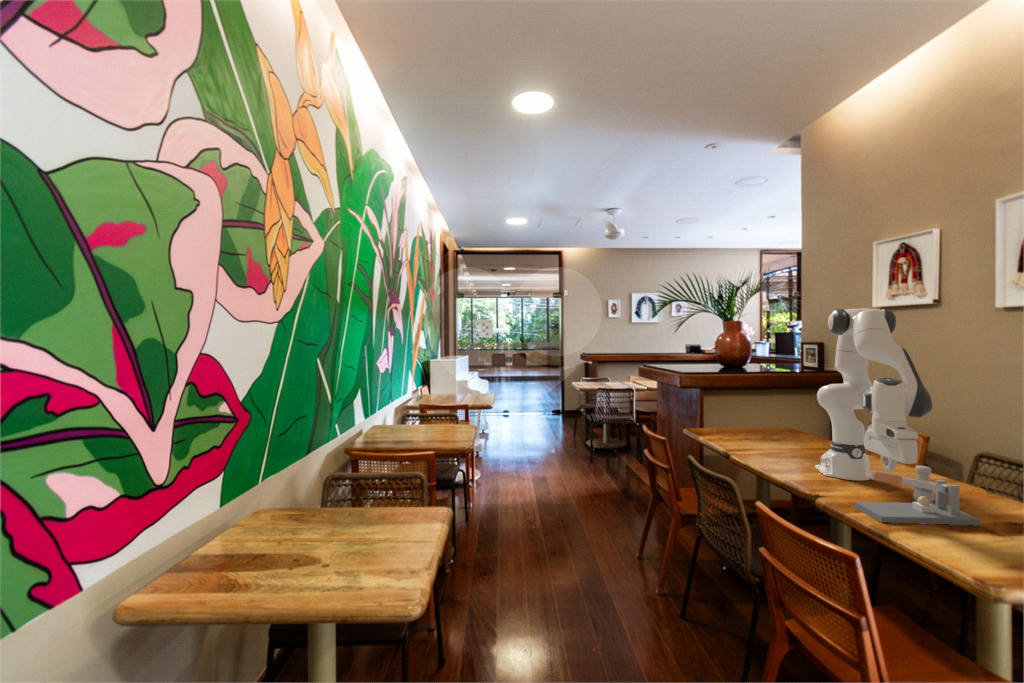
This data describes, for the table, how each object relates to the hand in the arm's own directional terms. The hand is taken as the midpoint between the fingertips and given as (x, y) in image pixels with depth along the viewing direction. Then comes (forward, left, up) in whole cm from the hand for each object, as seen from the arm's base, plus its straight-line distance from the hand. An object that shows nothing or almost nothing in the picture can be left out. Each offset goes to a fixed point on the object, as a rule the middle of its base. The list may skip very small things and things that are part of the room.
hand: (888, 470), depth 155 cm
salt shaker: (-13, +19, -15) cm, 27 cm away
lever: (0, +6, -5) cm, 8 cm away
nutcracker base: (0, +7, -15) cm, 16 cm away
